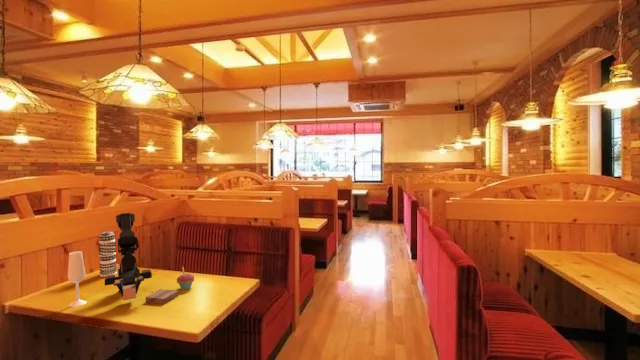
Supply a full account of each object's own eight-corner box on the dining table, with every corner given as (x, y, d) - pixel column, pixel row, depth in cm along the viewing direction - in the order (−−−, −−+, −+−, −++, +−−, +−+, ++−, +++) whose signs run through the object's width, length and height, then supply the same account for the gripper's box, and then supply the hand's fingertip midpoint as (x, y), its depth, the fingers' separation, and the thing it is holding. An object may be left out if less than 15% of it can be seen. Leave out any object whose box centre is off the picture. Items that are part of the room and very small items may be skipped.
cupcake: (188, 291, 169) (187, 268, 168) (173, 290, 171) (172, 267, 170) (197, 285, 177) (197, 263, 177) (183, 284, 179) (182, 262, 178)
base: (145, 302, 156) (145, 297, 156) (160, 294, 166) (160, 289, 166) (164, 304, 154) (164, 298, 154) (178, 295, 163) (178, 290, 163)
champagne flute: (76, 300, 159) (74, 250, 158) (90, 300, 159) (88, 250, 158) (65, 306, 152) (62, 254, 151) (79, 306, 152) (77, 254, 151)
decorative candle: (103, 277, 191) (102, 234, 190) (96, 275, 196) (94, 232, 195) (120, 273, 199) (118, 231, 198) (112, 270, 204) (111, 230, 203)
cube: (123, 300, 152) (123, 289, 152) (123, 296, 156) (122, 286, 156) (136, 298, 155) (135, 287, 155) (135, 294, 159) (135, 284, 159)
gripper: (103, 270, 143) (105, 306, 144) (152, 263, 153) (153, 296, 154) (104, 263, 153) (105, 297, 153) (150, 257, 162) (151, 289, 163)
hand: (129, 295), depth 156 cm, fingers closed on cube, 5 cm apart
